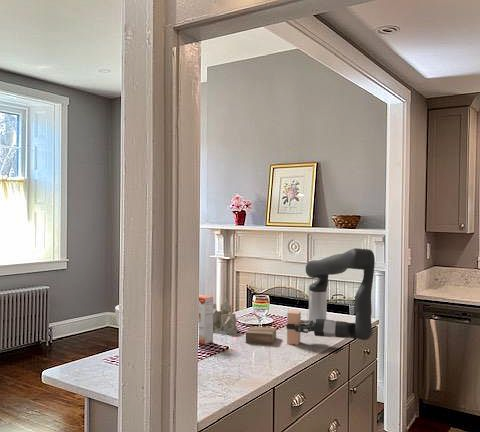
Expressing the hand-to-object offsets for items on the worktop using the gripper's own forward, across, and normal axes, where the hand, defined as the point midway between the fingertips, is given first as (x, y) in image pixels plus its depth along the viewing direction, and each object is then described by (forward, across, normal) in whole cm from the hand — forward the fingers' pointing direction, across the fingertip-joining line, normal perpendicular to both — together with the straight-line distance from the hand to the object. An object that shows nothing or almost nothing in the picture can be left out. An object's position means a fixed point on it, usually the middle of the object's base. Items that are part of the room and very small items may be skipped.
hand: (288, 324), depth 223 cm
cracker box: (+39, +12, +8) cm, 42 cm away
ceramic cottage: (+36, -10, +8) cm, 38 cm away
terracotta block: (-3, 0, +8) cm, 8 cm away
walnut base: (+12, +1, +8) cm, 15 cm away
